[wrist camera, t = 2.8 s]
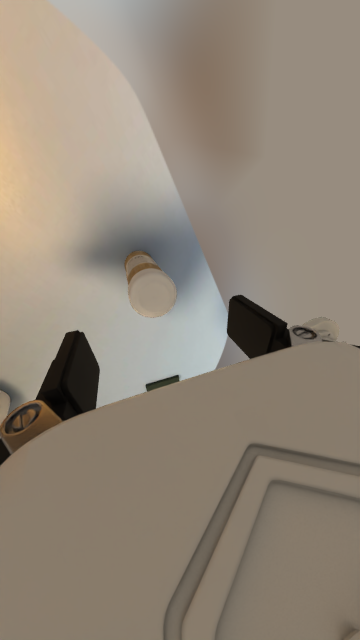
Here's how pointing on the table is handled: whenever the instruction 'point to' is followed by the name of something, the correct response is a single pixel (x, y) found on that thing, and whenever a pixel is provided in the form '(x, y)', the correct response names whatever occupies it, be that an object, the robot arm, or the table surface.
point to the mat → (162, 383)
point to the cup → (4, 405)
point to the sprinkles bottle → (148, 286)
